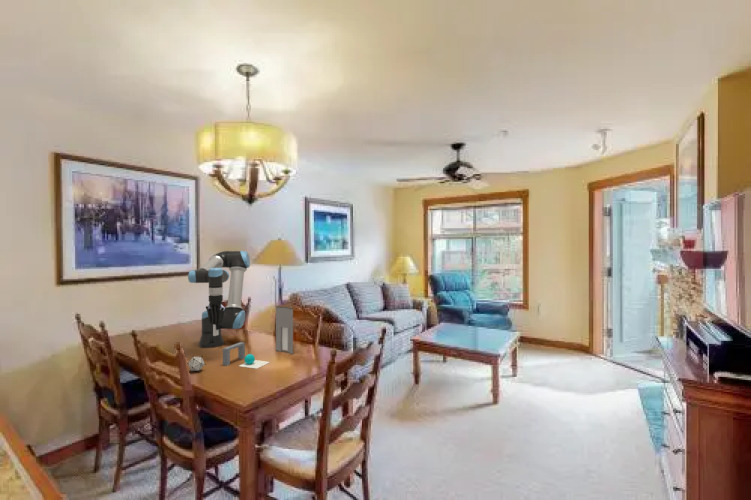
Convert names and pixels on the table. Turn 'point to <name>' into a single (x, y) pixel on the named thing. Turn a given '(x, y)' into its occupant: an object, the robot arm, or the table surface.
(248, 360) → the ball
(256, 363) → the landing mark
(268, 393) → the table surface
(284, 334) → the cabinet
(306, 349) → the table surface
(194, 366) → the game die
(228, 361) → the bridge
